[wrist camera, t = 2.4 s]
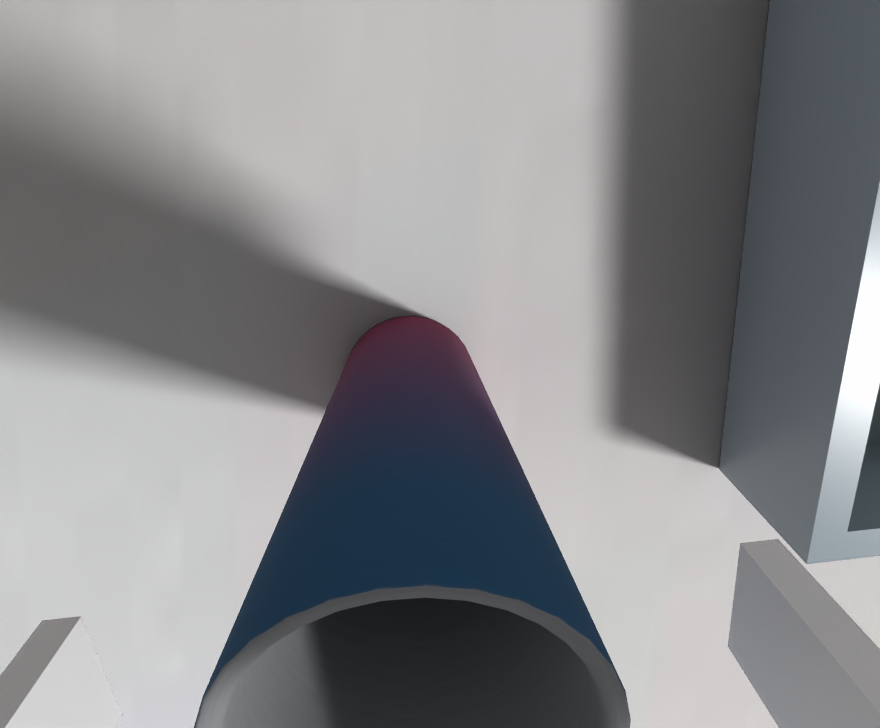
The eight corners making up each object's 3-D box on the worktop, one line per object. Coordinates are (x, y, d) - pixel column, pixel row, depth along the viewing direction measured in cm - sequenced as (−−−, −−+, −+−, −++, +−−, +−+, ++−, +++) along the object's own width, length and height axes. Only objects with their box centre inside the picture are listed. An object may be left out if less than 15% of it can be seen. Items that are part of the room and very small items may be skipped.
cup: (305, 307, 22) (125, 629, 8) (484, 279, 22) (627, 551, 8) (343, 461, 24) (259, 908, 10) (503, 436, 24) (635, 851, 10)
